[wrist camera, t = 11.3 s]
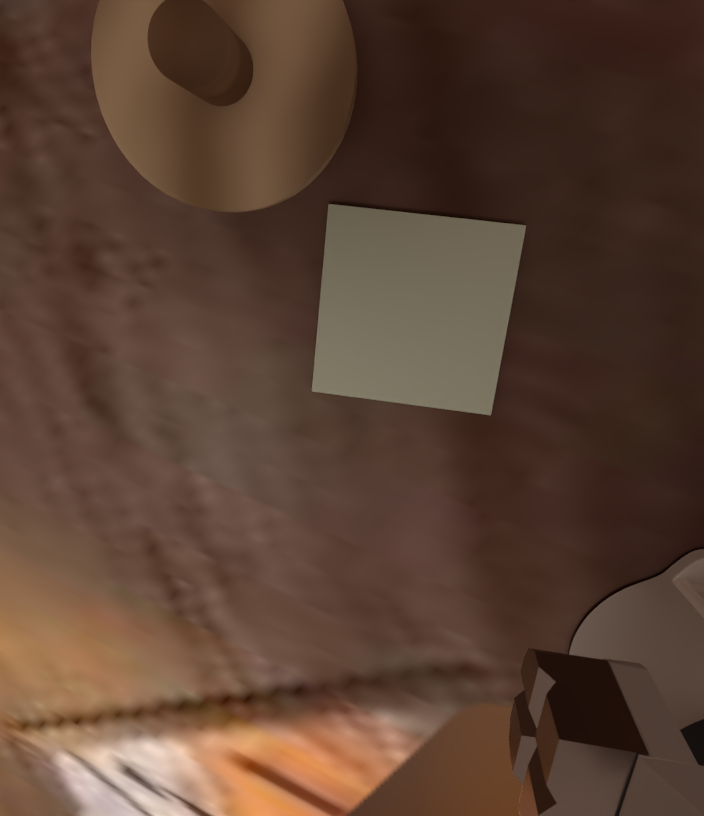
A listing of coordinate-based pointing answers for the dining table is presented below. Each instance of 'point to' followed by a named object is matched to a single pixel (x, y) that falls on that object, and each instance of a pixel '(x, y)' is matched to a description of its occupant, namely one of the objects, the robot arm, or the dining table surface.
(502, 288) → the mat
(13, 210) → the dining table surface
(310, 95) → the lid
